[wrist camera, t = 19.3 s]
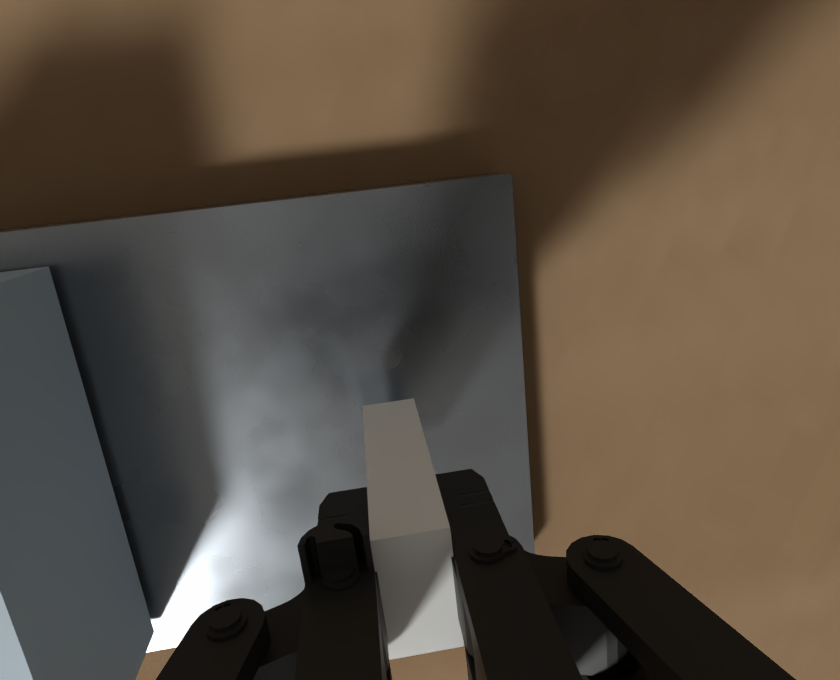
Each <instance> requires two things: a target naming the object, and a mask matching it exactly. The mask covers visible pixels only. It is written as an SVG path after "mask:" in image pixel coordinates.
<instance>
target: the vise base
mask: <svg viewBox="0 0 840 680" xmlns="http://www.w3.org/2000/svg"><path fill="white" fill-rule="evenodd" d="M48 266H49V269H50V273H51V276H52V279H53V283H54V286H55V290H56V293H57V297H58V300H59V304H60V307H61V311H62V314H63V318H64V321H65V324H66V328H67V331H68V335H69V338H70V342H71V345H72V349H73V352H74V356H75V359H76V363H77V366H78V369H79V373H80V376H81V380H82V383H83V387H84V390H85V394H86V397H87V401H88V404H89V408H90V411H91V414H92V418H93V421H94V425H95V428H96V432H97V435H98V439H99V442H100V446H101V449H102V453H103V456H104V459H105V463H106V466H107V470H108V473H109V477H110V480H111V484H112V487H113V491H114V494H115V498H116V501H117V504H118V508H119V511H120V515H121V518H122V522H123V525H124V529H125V532H126V536H127V539H128V543H129V546H130V549H131V553H132V556H133V560H134V563H135V567H136V570H137V574H138V577H139V581H140V584H141V588H142V591H143V594H144V598H145V601H146V605H147V608H148V612H149V615H150V619H151V622H152V626H153V629H154V634H153V636H152V639H151V641H150V644H149V646H148V649H147V651H146V653H147V652H152V651H158V650H163V649H169V648H174V647H177V646H178V645H179V643H180V642H181V640H182V639H183V637H184V635H185V634H186V632H187V631H188V629H189V628H190V626H191V625H192V624H193V622H194V621H195V620H196V619H197V618H198V617H199V616H200V615H201V614H202V613H203V612H205V611H206V610H208V609H209V608H211V607H212V606H214V605H216V604H219V603H221V602H224V601H226V600H231V599H237V598H246V599H253V600H255V601H257V602H258V603H260V604H261V605H262V606H263V609H264V611H267V610H269V609H271V608H274V607H276V606H279V605H281V604H283V603H285V602H287V601H289V600H291V599H293V598H294V597H295V596H297V595H298V594H300V593H301V592H302V591H303V590H304V587H305V582H304V577H303V572H302V567H301V562H300V557H299V552H298V547H297V546H298V543H299V541H300V539H301V537H302V536H303V535H304V534H305V533H306V532H307V531H309V530H310V529H312V528H314V527H315V526H317V524H318V513H319V505H320V504H321V503H322V501H323V500H324V499H325V497H326V496H327V495H328V493H332V492H338V491H344V490H350V489H357V488H363V487H367V479H366V461H365V443H364V424H363V406H365V405H372V404H379V403H386V402H392V401H399V400H406V399H412V398H414V401H415V404H416V408H417V412H418V415H419V419H420V422H421V426H422V429H423V433H424V437H425V440H426V444H427V447H428V451H429V454H430V458H431V461H432V465H433V469H434V472H435V474H441V473H447V472H453V471H460V470H466V469H472V470H474V471H475V472H477V473H478V474H479V475H481V476H482V477H484V479H485V481H486V484H487V486H488V488H489V492H490V493H491V495H492V497H493V501H494V502H495V504H496V507H497V509H498V511H499V513H500V516H501V518H502V520H503V523H504V525H505V527H506V529H507V532H508V534H509V535H510V536H512V537H514V538H516V539H517V540H518V542H519V543H520V544H521V545H522V547H523V549H524V550H525V551H527V552H529V553H533V554H535V550H534V533H533V516H532V500H531V483H530V466H529V449H528V432H527V416H526V399H525V382H524V365H523V349H522V332H521V315H520V298H519V281H518V265H517V248H516V231H515V214H514V198H513V181H512V173H495V174H486V175H478V176H469V177H460V178H452V179H443V180H434V181H425V182H417V183H408V184H399V185H391V186H382V187H373V188H365V189H356V190H347V191H339V192H330V193H321V194H312V195H304V196H295V197H286V198H278V199H269V200H260V201H252V202H243V203H234V204H226V205H217V206H208V207H199V208H191V209H182V210H173V211H165V212H156V213H147V214H139V215H130V216H121V217H113V218H104V219H95V220H86V221H78V222H69V223H60V224H52V225H43V226H34V227H26V228H17V229H8V230H0V272H7V271H15V270H23V269H31V268H40V267H48Z"/></svg>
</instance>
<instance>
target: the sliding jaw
mask: <svg viewBox="0 0 840 680" xmlns="http://www.w3.org/2000/svg"><path fill="white" fill-rule="evenodd" d="M153 634H154V629H153V626H152V622H151V619H150V615H149V612H148V608H147V605H146V601H145V598H144V594H143V591H142V588H141V584H140V581H139V577H138V574H137V570H136V567H135V563H134V560H133V556H132V553H131V549H130V546H129V543H128V539H127V536H126V532H125V529H124V525H123V522H122V518H121V515H120V511H119V508H118V504H117V501H116V498H115V494H114V491H113V487H112V484H111V480H110V477H109V473H108V470H107V466H106V463H105V459H104V456H103V453H102V449H101V446H100V442H99V439H98V435H97V432H96V428H95V425H94V421H93V418H92V414H91V411H90V408H89V404H88V401H87V397H86V394H85V390H84V387H83V383H82V380H81V376H80V373H79V369H78V366H77V363H76V359H75V356H74V352H73V349H72V345H71V342H70V338H69V335H68V331H67V328H66V324H65V321H64V318H63V314H62V311H61V307H60V304H59V300H58V297H57V293H56V290H55V286H54V283H53V279H52V276H51V273H50V269H49V266H48V267H40V268H31V269H23V270H15V271H7V272H0V680H135V679H136V676H137V674H138V671H139V669H140V666H141V664H142V661H143V659H144V656H145V654H146V651H147V649H148V646H149V644H150V641H151V639H152V636H153Z"/></svg>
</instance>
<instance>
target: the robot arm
mask: <svg viewBox="0 0 840 680" xmlns="http://www.w3.org/2000/svg"><path fill="white" fill-rule="evenodd" d="M363 424H364V443H365V461H366V479H367V487H363V488H357V489H350V490H344V491H338V492H332V493H328V495H327V496H326V497H325V499H324V500H323V501H322V503H321V504H320V505H319V513H318V524H317V526H315V527H314V528H312V529H310V530H309V531H307V532H306V533H305V534H304V535H303V536H302V537H301V539H300V541H299V543H298V546H297V547H298V552H299V557H300V562H301V567H302V572H303V577H304V582H305V587H304V590H303V591H302V592H301V593H300V594H298V595H297V596H295V597H294V598H293V599H291V600H289V601H287V602H285V603H283V604H281V605H279V606H276V607H274V608H271V609H269V610H267V611H264V609H263V606H262V605H261V604H260V603H258V602H257V601H255V600H253V599H246V598H237V599H231V600H226V601H224V602H221V603H219V604H216V605H214V606H212V607H211V608H209V609H208V610H206V611H205V612H203V613H202V614H201V615H200V616H199V617H198V618H197V619H196V620H195V621H194V622H193V624H192V625H191V626H190V628H189V629H188V631H187V632H186V634H185V635H184V637H183V639H182V640H181V642H180V643H179V645H178V646H177V648H176V649H175V651H174V652H173V654H172V656H171V657H170V659H169V660H168V662H167V663H166V665H165V666H164V668H163V669H162V671H161V673H160V674H159V676H158V677H157V679H156V680H392V675H391V669H390V663H389V660H391V659H397V658H402V657H408V656H413V655H418V654H424V653H429V652H435V651H440V650H446V649H451V648H457V647H462V646H464V644H465V652H466V661H467V669H468V678H469V680H796V679H794V678H793V677H792V676H791V675H790V674H788V673H787V672H786V671H785V670H783V669H782V668H781V667H780V666H779V665H777V664H776V663H775V662H774V661H772V660H771V659H770V658H769V657H768V656H766V655H765V654H764V653H763V652H761V651H760V650H759V649H758V648H757V647H755V646H754V645H753V644H752V643H750V642H749V641H748V640H747V639H746V638H744V637H743V636H742V635H741V634H740V633H738V632H737V631H736V630H735V629H733V628H732V627H731V626H730V625H729V624H727V623H726V622H725V621H724V620H722V619H721V618H720V617H719V616H718V615H716V614H715V613H714V612H713V611H711V610H710V609H709V608H708V607H707V606H705V605H704V604H703V603H702V602H700V601H699V600H698V599H697V598H696V597H694V596H693V595H692V594H691V593H689V592H688V591H687V590H686V589H685V588H683V587H682V586H681V585H680V584H678V583H677V582H676V581H675V580H674V579H672V578H671V577H670V576H669V575H668V574H666V573H665V572H664V571H663V570H661V569H660V568H659V567H658V566H657V565H655V564H654V563H653V562H652V561H650V560H649V559H648V558H647V557H646V556H644V555H643V554H642V553H641V552H639V551H638V550H637V549H636V548H635V547H633V546H632V545H630V544H628V543H627V542H625V541H623V540H622V539H618V538H615V537H611V536H603V535H592V536H587V537H582V538H580V539H578V540H576V541H575V542H573V543H571V545H570V546H569V548H568V549H567V550H566V557H551V556H542V555H536V554H533V553H529V552H527V551H525V550H524V549H523V547H522V545H521V544H520V543H519V542H518V540H517V539H516V538H514V537H512V536H510V535H509V534H508V532H507V529H506V527H505V525H504V523H503V520H502V518H501V516H500V513H499V511H498V509H497V507H496V504H495V502H494V501H493V497H492V495H491V493H490V492H489V488H488V486H487V484H486V481H485V479H484V477H482V476H481V475H479V474H478V473H477V472H475V471H474V470H472V469H466V470H460V471H453V472H447V473H441V474H435V472H434V469H433V465H432V461H431V458H430V454H429V451H428V447H427V444H426V440H425V437H424V433H423V429H422V426H421V422H420V419H419V415H418V412H417V408H416V404H415V401H414V398H412V399H406V400H399V401H392V402H386V403H379V404H372V405H365V406H363ZM463 640H464V644H463Z"/></svg>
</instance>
